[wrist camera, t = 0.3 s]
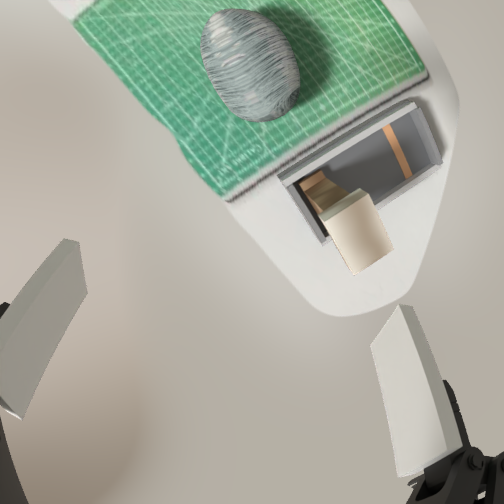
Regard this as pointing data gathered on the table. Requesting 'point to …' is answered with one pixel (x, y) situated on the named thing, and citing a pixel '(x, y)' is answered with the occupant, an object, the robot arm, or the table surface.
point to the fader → (348, 221)
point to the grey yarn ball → (250, 64)
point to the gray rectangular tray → (370, 160)
